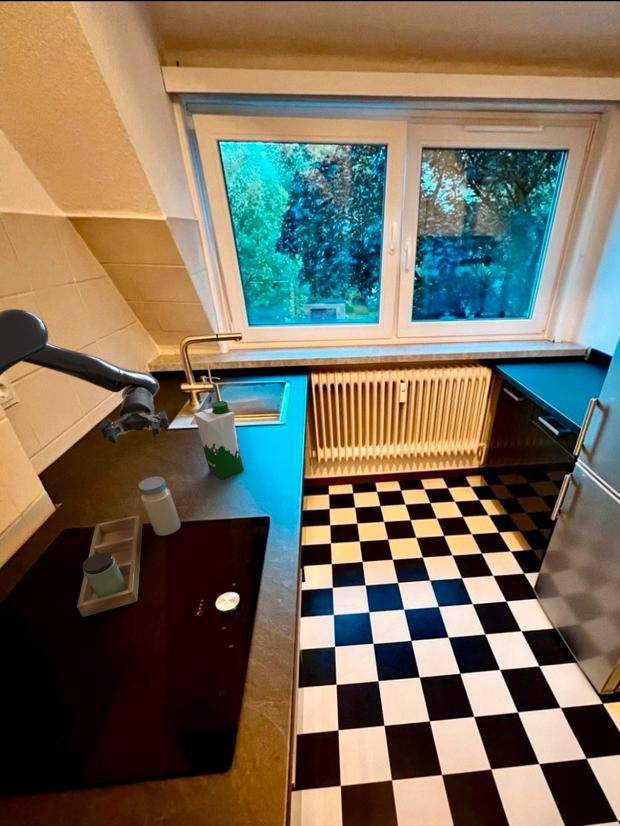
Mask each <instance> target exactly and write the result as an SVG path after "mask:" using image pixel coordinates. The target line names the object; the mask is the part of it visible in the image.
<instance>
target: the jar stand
mask: <svg viewBox="0 0 620 826" xmlns="http://www.w3.org/2000/svg"><path fill="white" fill-rule="evenodd" d="M142 536H143V521H142V518H141V516H140V515H139V514H136V515H132V516H128V517H123V518H119V519H114V520H110V521H105V522H100V523H96V524H95V528H94V532H93V536H92V541H91V544H90V549H89V553H88V558H89V557H91V556H93V555H95V554H98V553H109V554H111V555H112V557H113V558H114V559H115V561H116V563H117V565H118V567H119V569H120V571H121V573H122V575H123V577H124V579H125V581H126V583H127V590H126V591H123V592H119V593H116V594H112V595H109V596H105V597H101V598H98V597H97V595H96V593H95V591H94V590H93V588H92V586H91V584H90V582H89V581H88V579H87V577H86V575H85V574H84V575H83V580H82V584H81V588H80V593H79V597H78V601H77V606H76V608H77V610H78V611H79V613H80V614H81V616H82V617H83V618H85V617H88V616H91V615H95V614H98V613H102V612H105V611H108V610H112V609H115V608H119V607H122V606H125V605H129V604H132V603H136V602H138V593H139V581H140V580H139V579H140V566H141V553H142V552H141V551H142V538H143V537H142ZM88 558H87V559H88Z"/></svg>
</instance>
